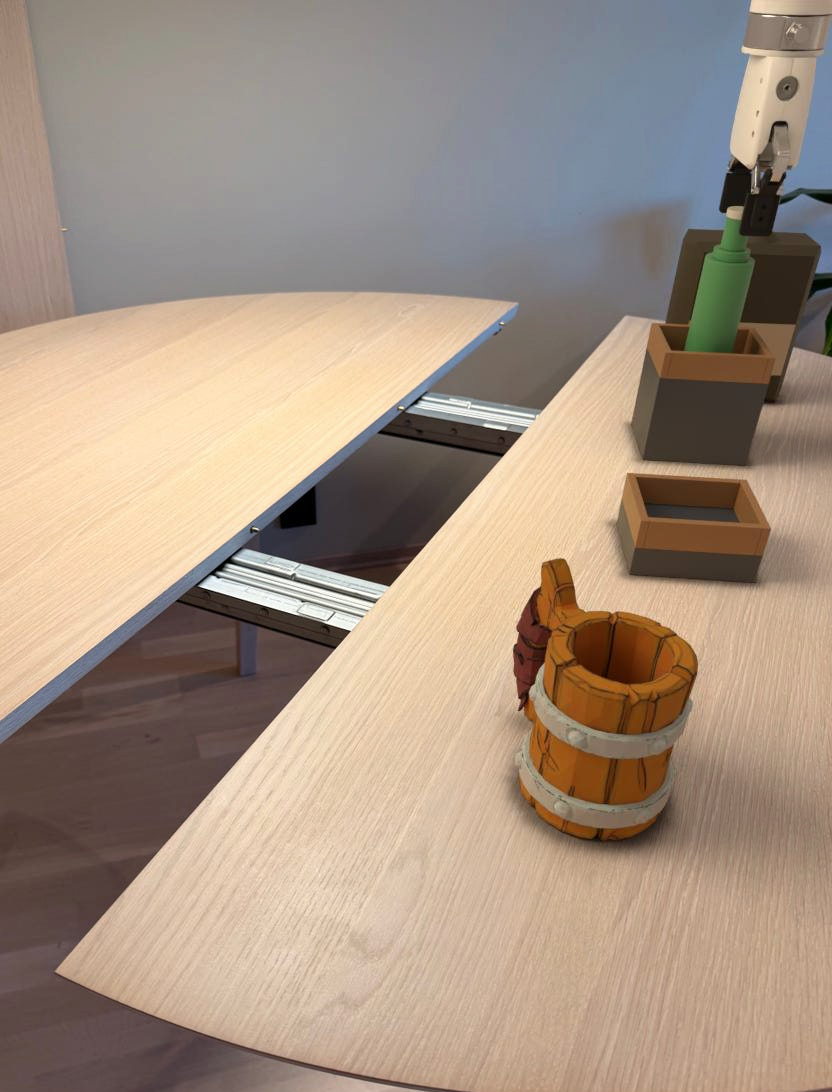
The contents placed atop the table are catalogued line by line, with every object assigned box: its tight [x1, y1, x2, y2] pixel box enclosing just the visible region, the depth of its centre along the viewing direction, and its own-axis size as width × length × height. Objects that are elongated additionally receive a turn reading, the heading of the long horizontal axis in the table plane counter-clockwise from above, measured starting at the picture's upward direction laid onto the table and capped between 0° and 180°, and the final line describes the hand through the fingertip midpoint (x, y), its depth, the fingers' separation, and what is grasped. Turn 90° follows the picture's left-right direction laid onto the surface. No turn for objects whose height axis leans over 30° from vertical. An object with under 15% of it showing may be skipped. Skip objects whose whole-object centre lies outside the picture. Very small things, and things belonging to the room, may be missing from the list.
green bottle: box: [684, 206, 755, 354], centre depth 109 cm, size 5×5×17 cm
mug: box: [512, 557, 699, 842], centre depth 69 cm, size 11×16×15 cm, turn 24°
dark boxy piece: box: [664, 196, 822, 403], centre depth 126 cm, size 8×16×25 cm, turn 87°
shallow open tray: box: [616, 472, 772, 583], centre depth 97 cm, size 12×10×6 cm
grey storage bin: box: [630, 322, 776, 466], centre depth 116 cm, size 12×10×13 cm
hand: (743, 223), depth 105 cm, fingers open, 9 cm apart
